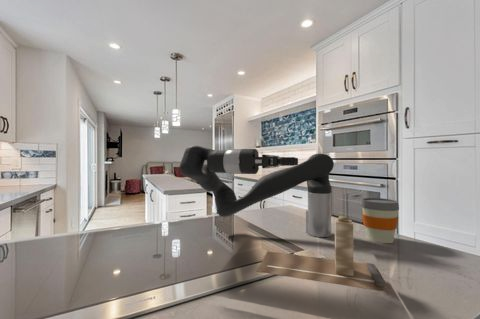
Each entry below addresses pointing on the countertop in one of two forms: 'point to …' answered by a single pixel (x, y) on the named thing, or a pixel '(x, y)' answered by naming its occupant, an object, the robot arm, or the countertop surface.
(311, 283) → the countertop surface
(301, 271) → the walnut board
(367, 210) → the reusable coffee cup
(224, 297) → the countertop surface
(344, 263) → the wooden pepper mill
